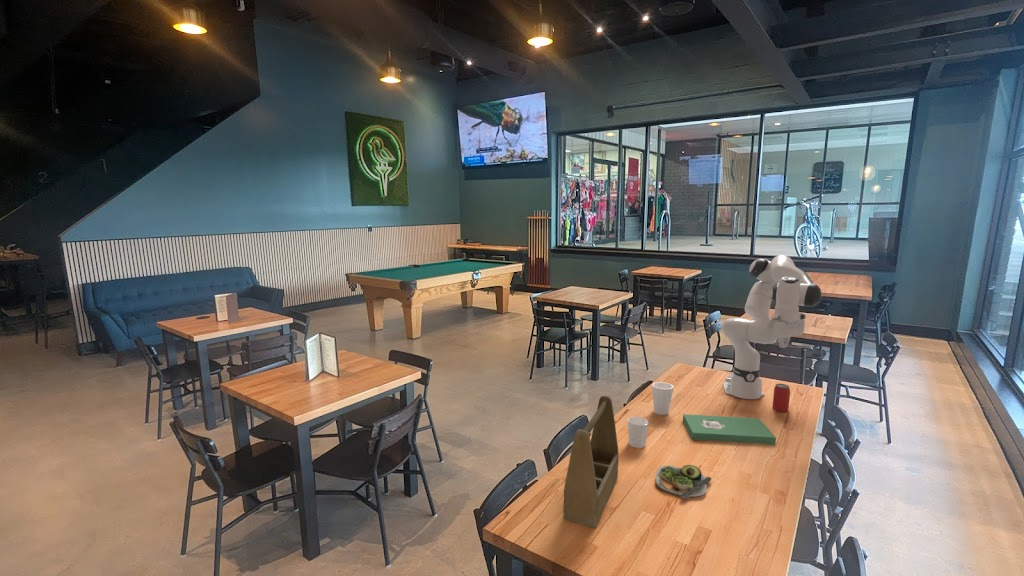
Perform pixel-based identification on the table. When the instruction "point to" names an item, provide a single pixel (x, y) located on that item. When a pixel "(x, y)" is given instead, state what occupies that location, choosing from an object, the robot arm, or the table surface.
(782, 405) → the beer can
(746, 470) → the table surface
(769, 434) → the green rectangular slab
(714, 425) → the ball
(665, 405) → the foam cup
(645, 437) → the white cup
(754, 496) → the table surface
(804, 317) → the robot arm
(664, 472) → the avocado toast plate
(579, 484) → the caddy
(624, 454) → the table surface
